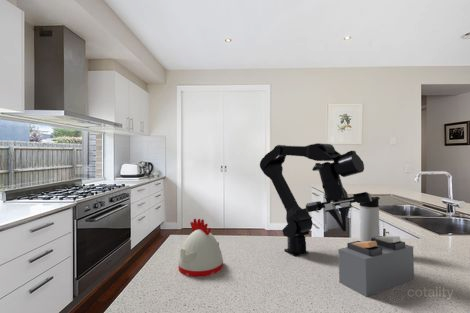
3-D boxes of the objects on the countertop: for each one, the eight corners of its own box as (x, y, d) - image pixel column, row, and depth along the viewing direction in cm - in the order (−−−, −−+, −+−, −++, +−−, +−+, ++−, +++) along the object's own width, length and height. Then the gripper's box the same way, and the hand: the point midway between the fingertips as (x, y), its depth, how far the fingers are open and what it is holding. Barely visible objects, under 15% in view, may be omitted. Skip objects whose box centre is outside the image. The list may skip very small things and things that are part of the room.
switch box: (339, 282, 67) (338, 243, 67) (385, 268, 75) (384, 234, 76) (366, 296, 60) (365, 253, 60) (414, 279, 68) (413, 241, 69)
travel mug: (383, 255, 85) (382, 198, 86) (363, 254, 87) (362, 197, 87) (377, 249, 91) (376, 195, 92) (358, 248, 93) (357, 195, 93)
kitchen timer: (200, 255, 87) (200, 213, 88) (231, 264, 79) (231, 217, 80) (169, 269, 76) (169, 220, 76) (201, 281, 68) (201, 227, 69)
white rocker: (376, 242, 71) (375, 237, 72) (383, 240, 73) (382, 236, 73) (393, 242, 67) (392, 238, 67) (400, 241, 68) (399, 236, 69)
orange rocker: (352, 248, 67) (351, 243, 67) (360, 246, 68) (359, 241, 69) (369, 247, 63) (367, 242, 63) (377, 245, 64) (375, 240, 64)
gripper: (365, 175, 80) (381, 224, 76) (310, 188, 90) (321, 232, 85) (361, 172, 71) (378, 228, 67) (300, 187, 80) (312, 236, 76)
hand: (345, 231), depth 74 cm, fingers closed
